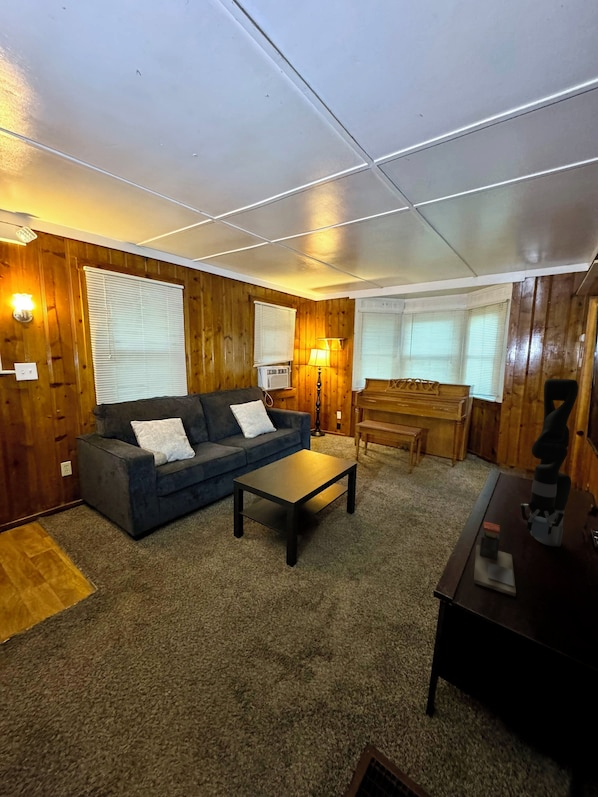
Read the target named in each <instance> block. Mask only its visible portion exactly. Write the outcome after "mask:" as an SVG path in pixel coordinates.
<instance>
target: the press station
mask: <svg viewBox="0 0 598 797" xmlns="http://www.w3.org/2000/svg"><path fill="white" fill-rule="evenodd" d="M485 532H486V531H485V530H483V529H482V530H481V533H480V534H481V537H480V542H479V543H480V545H479V544H476V545H475V556H474V559H475V561H474V573H473V574H474V576H473V583H474V584H477V585H480V586H482V587H485V588H488V589H490V590H495V591H496V592H500V593H502V594H506V595H510V596H512V597H515V598H516V594H517V590H516V583H515V582H516V581H515V574H514V573H515V572H514V565H513V556H512V554H511V553H507V552H504V551H501V550H499V548H500V534H496V540H495V539H492V538H488V537H485Z"/></svg>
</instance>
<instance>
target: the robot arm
mask: <svg viewBox="0 0 598 797" xmlns="http://www.w3.org/2000/svg"><path fill="white" fill-rule="evenodd" d="M578 384H579V383H578V381H577V380H576V379H571V378H547V379H546V380H545V382H544V385H543V423H542V425H543V426H542V430H541V432H540V434H539V436H538V438H536V440H535V442H534V443H533V445H532V447H531V453H532V456H533V458H536V459H537V460H540V463H539V464H537V465H536V466H535V469H534V476H533V481H532V485H531V491H530V492H531V494H530V500H529V503H523V502H521V503H519V505H520V510H521V516H522V520H524V521H527V522H526V529H527V530H528V531H529V532H530V531H531V527H532V520H533V519H534V518H535V517H536V516H538V517H543V518H546V520H547V523H548V524H549V530H548V537H547V540H546V539H542V538H538V537H534V536H533V537H534V539H535V540H536V541H538V542H539V543H541V544H543V545H546V546H549V547H561V544H562V538H563V531H564V526H563V525H564V518H565V510H566V506H567V503H568V501H569V495H570V492H571V486H572V478H571V476H569V475H568V474H565V473H563V472H560V469H561V467H562V465H563V464H564V462H565V460H566V459H567V457H568V447H569V444H570V429H569V427H568V425H567V424H568V421H569V417H570V416H571V413H572V411H573V409H574V405H575V403H576V400H577V398H578V392H579V385H578ZM555 401H557V402H559V401H560V402H563V403H562V404H561V405H559V407H557V408H556V406H555V403H554V402H555ZM528 508H529V510H530V513H529V515H526V510H528Z"/></svg>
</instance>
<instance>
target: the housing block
mask: <svg viewBox="0 0 598 797" xmlns="http://www.w3.org/2000/svg"><path fill="white" fill-rule="evenodd" d="M548 530H549V524H548V523H547V520H546V518H543V517H538V516H536V517H535V518H534V519H533V520H532V527H531V531H529V533H530V536H531V537H538V538H542V539H546V540H547V537H548Z"/></svg>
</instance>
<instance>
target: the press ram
mask: <svg viewBox="0 0 598 797" xmlns="http://www.w3.org/2000/svg"><path fill="white" fill-rule="evenodd" d="M482 530H485V531H486V532H485V537H488V538H492V539H495V540H496V534H499V535H500V532H501V530H500V525H499V524H496V523H492V522H488V521H483V529H482Z"/></svg>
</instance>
